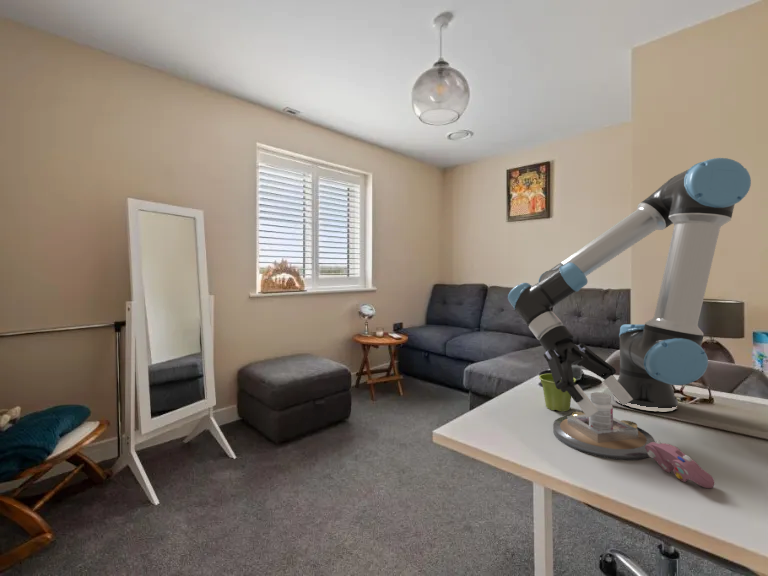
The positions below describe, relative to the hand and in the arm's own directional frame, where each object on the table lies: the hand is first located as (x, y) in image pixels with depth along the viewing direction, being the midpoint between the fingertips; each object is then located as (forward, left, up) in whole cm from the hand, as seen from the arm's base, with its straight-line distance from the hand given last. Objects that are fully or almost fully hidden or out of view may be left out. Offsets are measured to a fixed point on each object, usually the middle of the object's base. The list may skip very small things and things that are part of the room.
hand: (611, 408), depth 81 cm
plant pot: (-1, -21, -8) cm, 23 cm away
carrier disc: (+1, -2, -8) cm, 8 cm away
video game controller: (-1, +14, -8) cm, 16 cm away
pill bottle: (+1, -2, -6) cm, 7 cm away
